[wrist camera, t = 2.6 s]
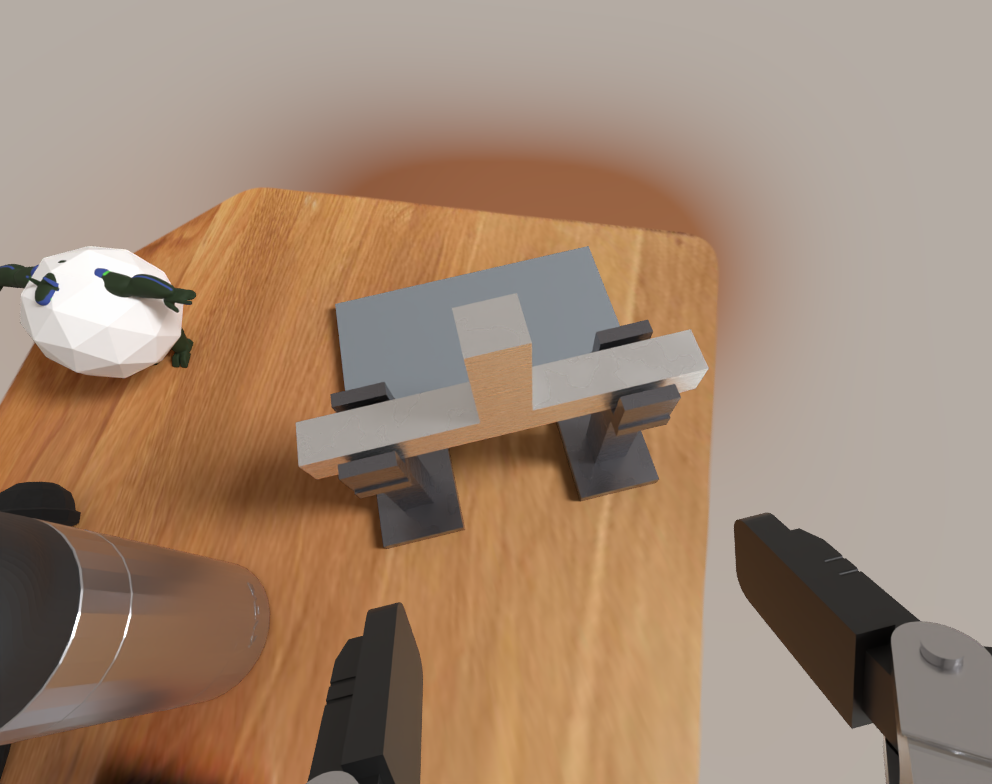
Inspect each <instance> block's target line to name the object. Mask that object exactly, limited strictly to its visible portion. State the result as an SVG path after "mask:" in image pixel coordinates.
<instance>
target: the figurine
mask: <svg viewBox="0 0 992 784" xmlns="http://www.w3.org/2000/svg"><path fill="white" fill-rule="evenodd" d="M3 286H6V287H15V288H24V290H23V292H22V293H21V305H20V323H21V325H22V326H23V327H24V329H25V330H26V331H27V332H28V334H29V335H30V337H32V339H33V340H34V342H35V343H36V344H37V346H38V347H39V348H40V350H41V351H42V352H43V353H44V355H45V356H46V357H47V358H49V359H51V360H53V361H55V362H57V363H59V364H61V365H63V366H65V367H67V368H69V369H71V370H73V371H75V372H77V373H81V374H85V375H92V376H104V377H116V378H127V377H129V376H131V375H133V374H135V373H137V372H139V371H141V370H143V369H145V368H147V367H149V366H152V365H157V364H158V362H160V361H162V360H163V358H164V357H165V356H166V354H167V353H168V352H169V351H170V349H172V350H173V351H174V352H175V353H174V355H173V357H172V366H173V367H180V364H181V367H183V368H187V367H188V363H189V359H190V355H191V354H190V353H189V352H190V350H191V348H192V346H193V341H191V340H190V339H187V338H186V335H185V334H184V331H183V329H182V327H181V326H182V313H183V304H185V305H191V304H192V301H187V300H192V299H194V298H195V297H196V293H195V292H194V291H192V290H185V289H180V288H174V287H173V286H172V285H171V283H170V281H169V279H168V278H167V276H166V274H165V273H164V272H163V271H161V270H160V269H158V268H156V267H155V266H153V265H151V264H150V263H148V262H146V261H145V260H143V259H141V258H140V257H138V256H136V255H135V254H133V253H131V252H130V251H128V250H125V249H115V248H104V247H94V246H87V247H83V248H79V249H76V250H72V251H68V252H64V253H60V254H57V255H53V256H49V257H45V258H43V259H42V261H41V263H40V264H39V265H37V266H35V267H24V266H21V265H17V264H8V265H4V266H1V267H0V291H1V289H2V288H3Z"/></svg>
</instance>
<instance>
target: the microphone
mask: <svg viewBox="0 0 992 784" xmlns="http://www.w3.org/2000/svg"><path fill="white" fill-rule="evenodd" d="M0 512H5V513H10V514H15V515H20V516H25V517H30V518H35V519H39V520H43V521H48V522H52V523H57V524H61V525H66V526H70V527H72V526H73V525H76V524H78V523H79V519H80V514H81V513H80V512H78V511H76V510H75V502H74V499H73V497H72V494H71V493H70V492H69V491H67V490H66V489H64V488H63V487H61V486H60V485H58V484H55V483H49V482H25V483H18V484H16V485H14V486H12V487H10V488H8V489H6V490H5V491H3V492H1V493H0ZM10 745H11V743H10V744H5V745H0V779H1V776H2V772H3V769H4V766H5V763H6V759H7V756H8V753H9V749H10Z"/></svg>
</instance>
